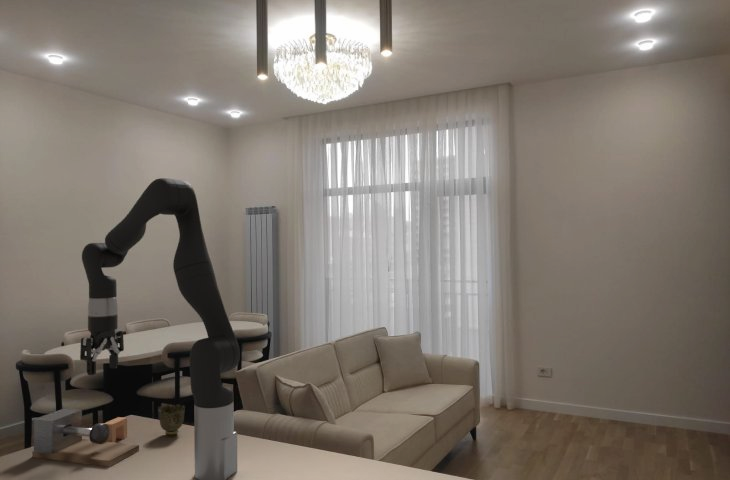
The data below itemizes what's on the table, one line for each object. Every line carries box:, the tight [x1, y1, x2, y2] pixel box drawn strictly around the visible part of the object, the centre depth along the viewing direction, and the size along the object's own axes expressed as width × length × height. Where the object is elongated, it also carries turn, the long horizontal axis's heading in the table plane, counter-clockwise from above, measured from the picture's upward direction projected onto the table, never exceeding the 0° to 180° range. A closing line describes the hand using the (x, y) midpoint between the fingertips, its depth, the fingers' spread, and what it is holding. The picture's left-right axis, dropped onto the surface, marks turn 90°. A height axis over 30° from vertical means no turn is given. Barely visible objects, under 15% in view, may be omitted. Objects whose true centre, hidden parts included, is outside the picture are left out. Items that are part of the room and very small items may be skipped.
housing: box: [33, 407, 83, 454], centre depth 146 cm, size 6×10×8 cm, turn 164°
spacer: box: [103, 416, 128, 443], centre depth 154 cm, size 3×6×6 cm, turn 164°
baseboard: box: [31, 438, 140, 468], centre depth 144 cm, size 24×11×2 cm, turn 74°
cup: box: [157, 403, 186, 437], centre depth 158 cm, size 8×7×8 cm
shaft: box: [63, 423, 110, 444], centre depth 144 cm, size 12×5×5 cm, turn 74°
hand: (102, 371), depth 151 cm, fingers open, 8 cm apart
